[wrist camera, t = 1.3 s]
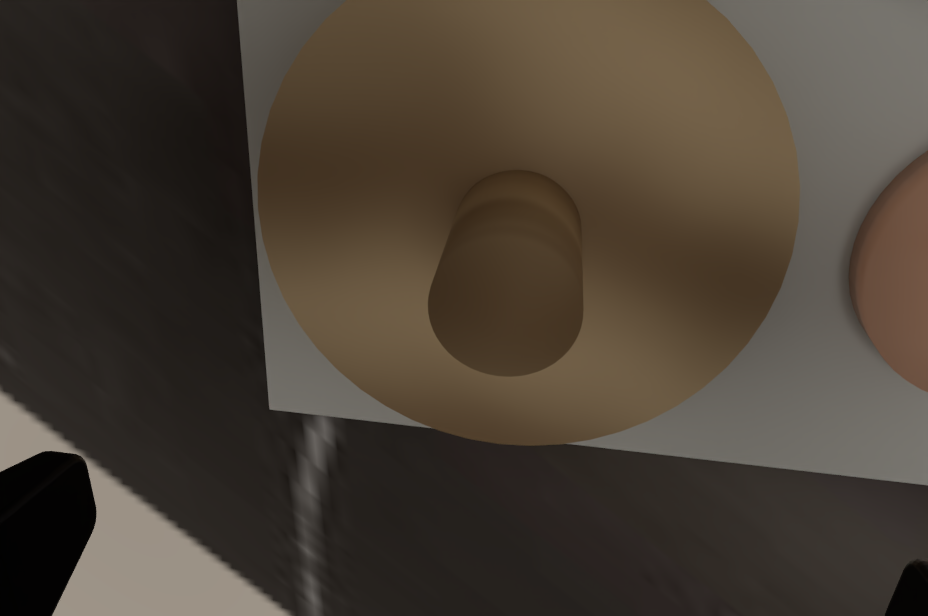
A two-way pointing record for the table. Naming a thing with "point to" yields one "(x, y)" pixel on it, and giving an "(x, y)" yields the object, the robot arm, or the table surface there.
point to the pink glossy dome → (896, 273)
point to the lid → (528, 207)
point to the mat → (804, 286)
